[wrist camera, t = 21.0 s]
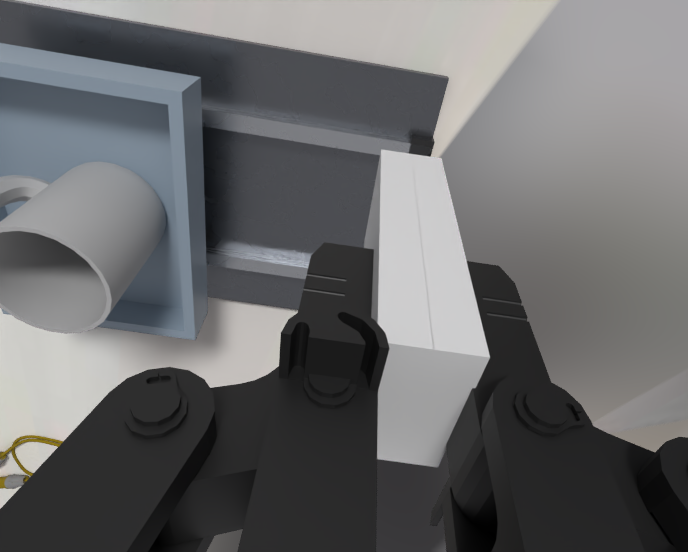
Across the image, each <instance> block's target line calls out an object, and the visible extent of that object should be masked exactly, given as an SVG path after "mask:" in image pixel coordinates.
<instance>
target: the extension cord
mask: <svg viewBox="0 0 688 552" xmlns="http://www.w3.org/2000/svg"><path fill="white" fill-rule="evenodd" d="M25 438H38V439H26V440H22V441H20V442H18V441H19V440H21V439H25ZM41 439H43V440H41ZM46 440H49V441H46ZM50 441H53V442H50ZM17 442H18V443H17ZM24 442H41V443H46V444H50V445H54V446H57V447H59V446H60V445H61V444H62V443H63V442H62V441H59V440H55V439H51V438H46V437H41V436H33V435H29V436H23V437H20V438H18V439H16V440H15V441H14V442H13V445H12V447H10V448H9V449H8V450H6V451H5V452H0V465H1V464H2V463H3V461H4V460H5V458H6V456H7V455H6V454H7V453H8V452H9V451H12V455H13V458H14V459H15V461H16V463H17V464H18V465H19V467H20V468H21V469H22V470H23V471H24V472H25V473H26V474H28V475H30V476H32V475H33V473H31V472H29V471H27V470H26V469H25V468H24V467H23V466H22V465H21V463H20V462H19V460H18V459H17V457H16V454H15V450H14V449H15V447H16V446H18V445H19V444H22V443H24ZM54 442H56V443H54ZM58 443H60V444H58ZM28 479H29V477H28V476H24V475H15V474H13V475H8V476H5V477H0V488H6V489H11V488H12V489H15V488H16V487H19V486H22V485H23V484H24V483H25V482H26V481H27V480H28Z"/></svg>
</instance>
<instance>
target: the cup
mask: <svg viewBox="0 0 688 552" xmlns="http://www.w3.org/2000/svg"><path fill="white" fill-rule="evenodd" d="M18 201H27V202H26V203H25V204H23V205H22V206H21V207H19V208H18V209H17V210H15V211H14V212H13V213H11V214H10V215H9V216H7V217H6V218H5V219H3V220H2V221H1V222H0V308H2V309H3V310H5V311H6V312H8V313H9V314H11V315H12V316H14V317H15V318H17V319H19V320H21V321H23V322H25V323H27V324H29V325H31V326H34V327H37V328H41V329H44V330H47V331H51V332H59V333H81V332H85V331H88V330H91V329H94V328H96V327H97V326H98V325H100V324H101V323H103V322H104V321H105V319H106V318H107V316H108V315H109V313H110V312H111V311H112V309H113V308H114V306H115V305H116V303H117V302H118V301H119V299H120V298H121V296H122V295H123V293H124V292H125V291H126V289H127V288H128V286H129V285H130V284H131V282H132V281H133V279H134V278H135V276H136V275H137V274H138V272H139V271H140V269H141V268H142V266H143V265H144V264H145V262H146V261H147V259H148V258H149V256H150V255H151V254H152V252H153V251H154V249H155V248H156V246H157V245H158V243H159V242H160V240H161V239H162V237H163V235H164V231H165V227H166V217H165V211H164V208H163V206H162V203H161V200H160V198H159V197H158V195H157V194H156V193H155V191H154V190H153V188H152V187H151V186H150V185H149V184H148V183H147V182H146V181H145V180H144V179H143V178H142V177H140V176H139V175H137V174H135V173H134V172H132V171H131V170H129V169H126V168H124V167H121V166H119V165H116V164H113V163H107V162H100V161H97V162H87V163H83V164H81V165H79V166H76V167H74V168H72V169H71V170H69V171H67V172H66V173H65V174H63V175H62V176H61V177H59V178H58V179H57V180H55V181H54V182H53V183H50V182H47V181H45V180H42V179H38V178H35V177H31V176H21V175H10V176H3V177H0V208H1V207H3V206H5V205H7V204H10V203H14V202H18Z"/></svg>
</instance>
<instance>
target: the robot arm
mask: <svg viewBox="0 0 688 552" xmlns="http://www.w3.org/2000/svg"><path fill="white" fill-rule="evenodd" d="M446 450H447V457H448V465H449V474H450V477H449V479H448V481H447V483H446V485H445V487H444V489H443V490H442V492H441V494H440V496H439V498H438V500H437V502H436V504H435V506H434V508H433V510H432V514H431V522H430V525H432V526H437V525H438V523H439V521H440V519H441V518H442V516H443V519H444V530H445V541H446V551H447V552H688V438H685V437H678V438H675V439H672V440H669V441H667V442H665V443H664V444H663V445H662V446H661V447H660V448H659V449H658V450H657V451H656V452H655V453H654V452H652V451H650V450H647V449H645V448H642V447H640V446H637V445H635V444H632V443H630V442H627V441H625V440H622V439H620V438H618V437H615V436H613V435H610V434H608V433H606V432H604V431H602V430H600V429H598V428H596V427H594V426H593V425H592V423H591V420H590V419H589V417H588V416H587V414H586V412H585V411H584V409H583V408H582V406H581V404H579V403H578V402H577V401H576V400H575V399H574V398H573V397H572V396H571V395H570V394H569V393H568V392H567V391H565V390H564V389H562V388H560V387H558V386H557V385H555V384H553V383H551V381H550V378H549V375H548V373H547V370H546V367H545V364H544V362H543V359H542V356H541V353H540V351H539V348H538V345H537V343H536V340H535V337H534V334H533V332H532V329H531V326H530V323H529V322H527V315H526V312H525V310H524V307H523V306H521V299H520V296H519V293H518V291H517V288H516V285H515V283H514V282H513V281H512V280H511V279H510V278H509V276H508V275H507V274H506V273H505V272H504V271H503V270H502V269H501V268H500V267H499V266H496V265H489V264H482V263H475V262H469V261H466V257H465V253H464V250H463V245H462V241H461V237H460V233H459V229H458V224H457V220H456V216H455V212H454V208H453V204H452V200H451V196H450V192H449V188H448V184H447V180H446V176H445V171H444V167H443V163H442V159H441V158H436V157H429V156H422V155H416V154H409V153H402V152H395V151H389V150H382V149H381V153H380V158H379V164H378V169H377V175H376V180H375V186H374V191H373V197H372V202H371V208H370V213H369V219H368V224H367V229H366V235H365V240H364V248H361V247H354V246H347V245H340V244H333V243H326V242H324V243H323V244H322V245H321V246H320V247H319V248H318V249H317V250H316V251H315V252H314V253H313V254H312V255H311V258H310V262H309V266H308V271H307V276H306V279H305V284H304V289H303V293H302V297H301V301H300V306H299V310H298V313H297V314H296V315H294V316H293V317H291V318H290V319H289V320H288V322H287V323H286V325H285V327H284V329H283V331H282V332H281V343H280V360H279V367H277V368H276V369H275V370H273V371H272V372H271V373H269V374H268V375H266V376H264V377H261V378H259V379H257V380H255V381H250V382H246V383H242V384H236V385H229V386H222V387H214V388H210V387H209V386H208V384H207V383H206V381H205V380H204V379H202V378H201V377H199V376H197V375H196V374H194V373H192V372H191V371H189V370H183V369H177V368H171V367H167V368H159V369H151V370H147V371H144V372H142V373H139V374H137V375H134V376H132V377H130V378H127V379H126V380H125V381H123V382H122V383H121V384H120V385H118V386H117V387H116V388H114V389H113V390H112V391H111V392H109V393H108V395H107V396H106V397H105V398H104V399H103V400H102V401H101V402H100V403H99V404H98V405H97V406H96V407H95V408H94V410H93V411H92V412H91V413H90V414H89V415H88V416H87V417H86V418H85V419H84V420H83V421H82V422H81V423H80V425H79V426H78V427H77V428H76V429H75V430H74V431H73V432H72V433H71V434H70V435H69V436H68V437H67V438H66V439H65V441H64V442H63V443H62V444H61V445H60V446H59V447H58V448H57V449H56V450H55V451H54V452H53V453H52V454H51V456H50V457H49V458H48V459H47V460H46V461H45V462H44V463H43V464H42V465H41V466H40V467H39V468H38V469H37V471H36V472H35V473H34V474H33V475H32V476H31V477H30V478H29V479H28V480H27V481H26V482H25V483H24V484H23V485H22V487H21V488H20V489H19V490H18V491H17V492H16V493H15V494H14V495H13V496H12V497H11V498H10V499H9V500H8V502H7V503H6V504H5V505H4V506H3V507H2V508H1V509H0V552H206V551H207V549H208V547H209V545H210V543H211V542H212V540H213V538H214V536H215V535H218V534H222V533H227V532H231V531H236V530H240V529H243V531H242V535H241V540H240V544H239V548H238V552H376V507H377V459H381V460H388V461H395V462H403V463H410V464H417V465H425V466H432V467H438V466H439V464H440V462H441V460H442V458H443V456H444V454H445V452H446Z"/></svg>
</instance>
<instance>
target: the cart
mask: <svg viewBox="0 0 688 552" xmlns="http://www.w3.org/2000/svg"><path fill="white" fill-rule="evenodd" d="M97 161H100V162H107V163H113V164H116V165H119V166H121V167H124V168H126V169H129V170H131V171H132V172H134V173H135V174H137V175H139V176H140V177H142V178H143V179H144V180H145V181H146V182H147V183H148V184H149V185H150V186H151V187H152V188H153V190H154V191H155V193H156V194H157V195H158V197H159V198H160V200H161V203H162V206H163V208H164V211H165V217H166V227H165V231H164V235H163V237H162V239H161V240H160V242H159V243H158V245H157V246H156V248H155V249H154V251H153V252H152V254H151V255H150V256H149V258H148V259H147V261H146V262H145V264H144V265H143V266H142V268H141V269H140V271H139V272H138V274H137V275H136V276H135V278H134V279H133V281H132V282H131V284H130V285H129V286H128V288H127V289H126V291H125V292H124V293H123V295H122V296H121V298H120V299H119V301H118V302H117V303H116V305H115V306H114V308H113V309H112V311H111V312H110V313H109V315H108V316H107V318H106V319H105V321H104V322H103V323H101V324H100V325H98V326H97V327H104V328H111V329H118V330H125V331H133V332H140V333H147V334H154V335H161V336H169V337H176V338H183V339H190V340H196V338H197V335H198V333H199V331H200V328H201V326H202V324H203V321H204V319H205V317H206V315H207V312H208V295H207V263H206V230H205V198H204V165H203V133H202V100H201V77H197V76H192V75H186V74H180V73H174V72H168V71H162V70H156V69H150V68H145V67H139V66H133V65H127V64H121V63H115V62H109V61H103V60H98V59H92V58H86V57H80V56H74V55H68V54H62V53H56V52H51V51H45V50H39V49H33V48H27V47H21V46H15V45H10V44H4V43H0V177H3V176H10V175H21V176H31V177H35V178H38V179H42V180H45V181H47V182H50V183H53V182H54V181H55V180H57V179H58V178H59V177H61V176H62V175H63V174H65V173H66V172H67V171H69V170H71V169H72V168H74V167H76V166H79V165H81V164H83V163H87V162H97ZM26 202H27V201H18V202H14V203H10V204H7V205H5V206H3V207H1V208H0V222H1V221H2V220H3V219H5V218H6V217H7V216H9V215H10V214H11V213H13V212H14V211H15V210H17V209H18V208H19V207H21V206H22V205H23V204H25V203H26ZM1 309H2V308H1ZM2 311H3V314H9V313H8V312H6V311H5V310H3V309H2ZM9 315H11V314H9Z"/></svg>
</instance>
